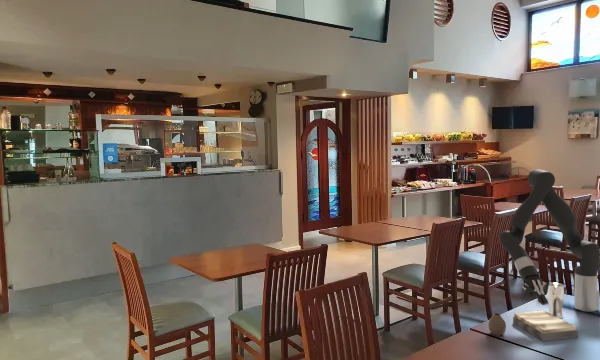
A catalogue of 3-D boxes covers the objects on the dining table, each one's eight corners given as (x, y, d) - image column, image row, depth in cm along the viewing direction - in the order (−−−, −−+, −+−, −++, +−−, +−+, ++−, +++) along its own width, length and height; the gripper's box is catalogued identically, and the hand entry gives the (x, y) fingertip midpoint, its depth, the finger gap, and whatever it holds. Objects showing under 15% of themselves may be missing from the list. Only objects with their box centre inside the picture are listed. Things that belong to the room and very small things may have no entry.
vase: (491, 329, 201) (491, 310, 200) (507, 333, 197) (507, 313, 196) (486, 334, 196) (486, 314, 195) (503, 338, 191) (503, 318, 191)
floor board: (512, 323, 207) (513, 313, 207) (544, 319, 210) (544, 310, 209) (543, 341, 187) (543, 330, 187) (577, 337, 190) (578, 327, 190)
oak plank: (528, 324, 197) (528, 321, 197) (559, 321, 200) (559, 318, 199) (543, 333, 188) (543, 330, 188) (576, 330, 190) (576, 326, 190)
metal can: (559, 313, 217) (560, 282, 216) (566, 318, 210) (567, 286, 209) (544, 313, 218) (544, 282, 217) (550, 318, 211) (551, 286, 210)
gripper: (516, 265, 205) (535, 301, 194) (543, 263, 207) (563, 298, 196) (509, 274, 210) (527, 309, 199) (535, 271, 212) (554, 306, 201)
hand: (544, 304), depth 197 cm, fingers closed
